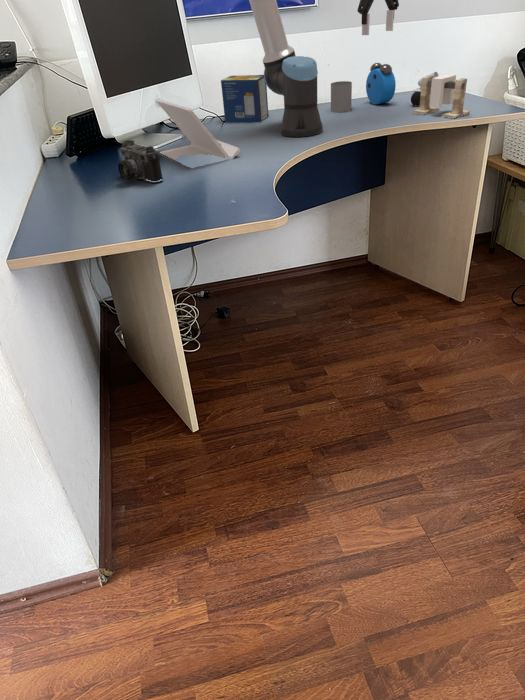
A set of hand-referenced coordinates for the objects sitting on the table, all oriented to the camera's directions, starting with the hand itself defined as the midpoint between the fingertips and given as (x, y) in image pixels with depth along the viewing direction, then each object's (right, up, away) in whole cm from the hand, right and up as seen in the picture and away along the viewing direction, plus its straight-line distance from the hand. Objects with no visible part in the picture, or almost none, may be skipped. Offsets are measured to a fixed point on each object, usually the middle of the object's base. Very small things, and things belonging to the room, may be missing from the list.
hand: (377, 33), depth 194 cm
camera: (-79, -67, -38) cm, 111 cm away
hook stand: (+24, -28, +3) cm, 37 cm away
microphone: (+25, -16, +22) cm, 37 cm away
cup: (-10, -19, +21) cm, 30 cm away
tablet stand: (-63, -53, -20) cm, 85 cm away
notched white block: (+24, -26, +1) cm, 35 cm away
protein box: (-49, -24, +20) cm, 58 cm away
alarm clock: (+6, -14, +26) cm, 30 cm away
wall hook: (+28, -8, +33) cm, 43 cm away
